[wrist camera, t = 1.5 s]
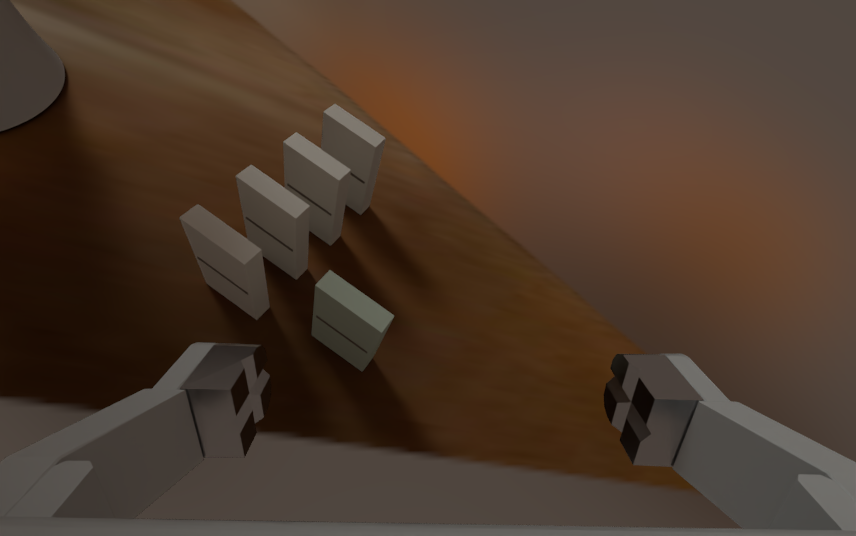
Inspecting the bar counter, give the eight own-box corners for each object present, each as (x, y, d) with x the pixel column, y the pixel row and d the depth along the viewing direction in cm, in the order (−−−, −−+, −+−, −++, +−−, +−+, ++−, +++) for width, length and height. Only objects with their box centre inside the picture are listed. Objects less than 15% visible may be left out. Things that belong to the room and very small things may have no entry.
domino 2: (295, 280, 35) (295, 218, 27) (248, 246, 35) (235, 176, 28) (307, 268, 36) (310, 205, 28) (261, 235, 36) (251, 164, 28)
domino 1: (256, 320, 32) (243, 265, 25) (206, 283, 33) (178, 217, 25) (270, 306, 33) (262, 248, 26) (220, 270, 34) (198, 203, 26)
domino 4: (361, 372, 33) (381, 333, 25) (310, 335, 33) (314, 285, 25) (373, 357, 33) (394, 315, 26) (323, 321, 34) (330, 269, 26)
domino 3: (330, 246, 37) (338, 180, 30) (285, 214, 38) (282, 142, 30) (340, 235, 38) (351, 169, 30) (297, 204, 38) (296, 131, 31)
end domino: (360, 215, 40) (375, 147, 32) (318, 186, 40) (323, 112, 32) (369, 206, 40) (386, 137, 33) (328, 177, 41) (335, 103, 33)
